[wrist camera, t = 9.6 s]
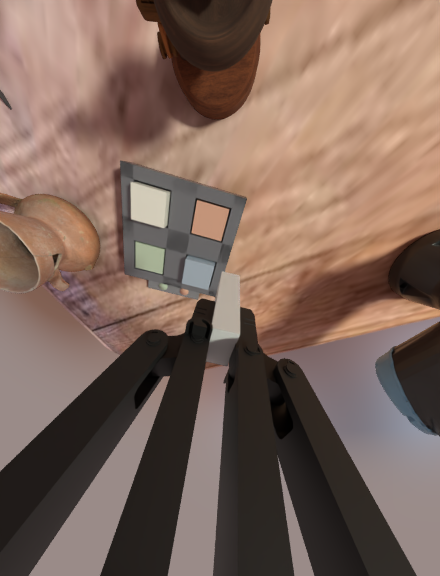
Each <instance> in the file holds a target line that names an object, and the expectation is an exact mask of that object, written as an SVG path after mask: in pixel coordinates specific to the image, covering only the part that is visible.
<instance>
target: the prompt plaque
mask: <svg viewBox="0 0 440 576" xmlns="http://www.w3.org/2000/svg"><path fill="white" fill-rule="evenodd" d="M148 288H152V289H156V290H160V291H164V292H168V293H172V294H176V295H180V296H185V297H189V298H193V299H197V300H198V296H199V293H198V292H194V291H190V290H186V289H182V288H178V287H174V286H170V285H166V284H162V283H158V282H154V281H150V280H149V282H148Z"/></svg>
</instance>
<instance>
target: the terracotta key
mask: <svg viewBox="0 0 440 576" xmlns="http://www.w3.org/2000/svg"><path fill="white" fill-rule="evenodd" d="M229 209H230V208H229V207H225V206H222V205H219V204H215V203H212V202H208V201H205V200H202V199H198V200H197V203H196V209H195V215H194V221H193V227H192V233H193V234H197V235H200V236H204V237H208V238H211V239H215V240H218V241H221V239H222V236H223V232H224V228H225V224H226V221H227V217H228V213H229Z"/></svg>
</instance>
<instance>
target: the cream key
mask: <svg viewBox="0 0 440 576" xmlns="http://www.w3.org/2000/svg"><path fill="white" fill-rule="evenodd" d="M170 197H171V192H170V191H167V190H163V189H160V188H156V187H153V186H150V185H146V184H143V183H139V182H131V219H132V220H136V221H139V222H143V223H147V224H150V225H154V226H157V227H161V228H165V227H166V226H168V218H169V207H170Z"/></svg>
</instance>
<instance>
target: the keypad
mask: <svg viewBox="0 0 440 576" xmlns="http://www.w3.org/2000/svg"><path fill="white" fill-rule="evenodd" d="M120 169H121V194H122V219H123V244H124V269H125V274H126V275H130V276H134V277H138V278H142V279H146V280H150V281H154V282H158V283H162V284H166V285H170V286H174V287H178V288H182V289H186V290H190V291H194V292H198V293H202V294H206V295H210V296H214V297H216V293H217V289H218V285H219V281H220V277H221V273H222V271H223V272H225V268H226V265H227V262H228V259H229V256H230V252H231V249H232V246H233V243H234V239H235V236H236V233H237V230H238V226H239V223H240V220H241V217H242V213H243V210H244V207H245V204H246V200H247V198H246V197H244V196H241V195H237V194H234V193H231V192H228V191H224V190H221V189H218V188H214V187H211V186H208V185H204V184H201V183H198V182H195V181H191V180H188V179H185V178H181V177H178V176H175V175H171V174H168V173H165V172H162V171H158V170H155V169H152V168H148V167H145V166H142V165H138V164H135V163H132V162H126V161H120ZM131 182H139V183H143V184H146V185H150V186H153V187H156V188H160V189H163V190H167V191H170V192H171V197H170V207H169V218H168V226H166V227H165V228H161V227H157V226H154V225H150V224H147V223H143V222H139V221H136V220H132V219H131ZM198 199H202V200H205V201H208V202H212V203H215V204H219V205H222V206H225V207H229V208H230V209H229V213H228V217H227V221H226V224H225V228H224V232H223V236H222V239H221V241H218V240H215V239H211V238H208V237H204V236H200V235H197V234H193V233H192V227H193V221H194V215H195V209H196V203H197V200H198ZM136 241H139V242H143V243H147V244H150V245H154V246H158V247H162V248H165V249H166V255H165V265H164V272H163V274H159V273H155V272H151V271H148V270H144V269H140V268H136ZM188 255H191V256H195V257H199V258H203V259H206V260H210V261H214V262H215V266H214V270H213V274H212V277H211V281H210V285H209V289H208V290H206V289H202V288H198V287H194V286H190V285H186V284H182V279H183V273H184V266H185V260H186V258H187V256H188Z"/></svg>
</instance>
